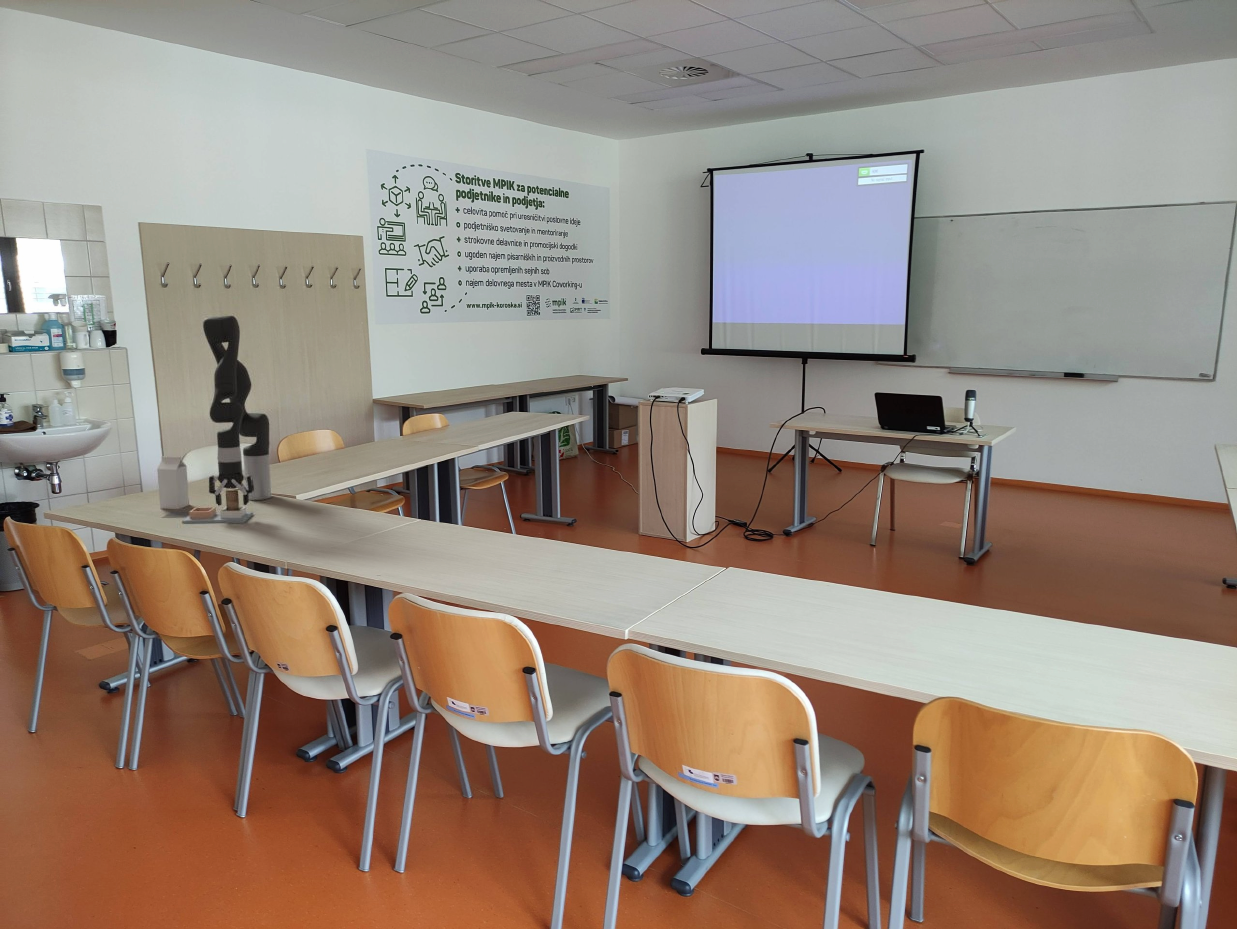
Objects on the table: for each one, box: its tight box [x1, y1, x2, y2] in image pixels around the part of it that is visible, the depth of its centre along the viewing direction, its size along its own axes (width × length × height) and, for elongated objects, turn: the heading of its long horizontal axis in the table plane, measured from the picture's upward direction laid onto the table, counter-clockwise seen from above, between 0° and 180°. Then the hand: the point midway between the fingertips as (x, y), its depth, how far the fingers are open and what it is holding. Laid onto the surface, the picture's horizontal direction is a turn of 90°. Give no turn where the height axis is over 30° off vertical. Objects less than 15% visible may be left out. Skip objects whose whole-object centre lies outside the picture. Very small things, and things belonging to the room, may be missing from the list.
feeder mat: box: [161, 510, 191, 519], centre depth 303 cm, size 9×9×1 cm
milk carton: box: [156, 456, 190, 510], centre depth 313 cm, size 7×7×19 cm
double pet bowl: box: [181, 506, 254, 524], centre depth 298 cm, size 12×20×4 cm, turn 99°
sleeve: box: [225, 489, 240, 511], centre depth 298 cm, size 4×4×9 cm
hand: (232, 504), depth 298 cm, fingers open, 8 cm apart
